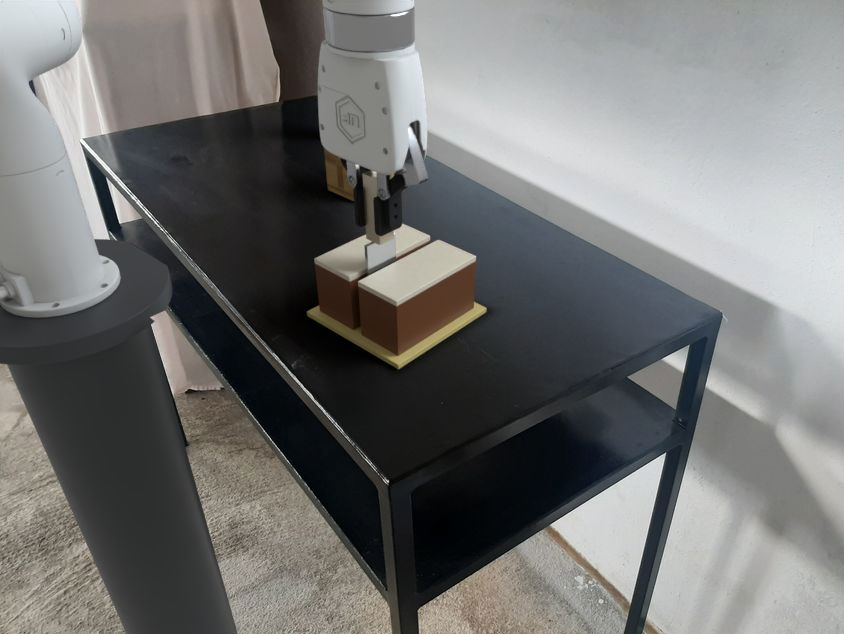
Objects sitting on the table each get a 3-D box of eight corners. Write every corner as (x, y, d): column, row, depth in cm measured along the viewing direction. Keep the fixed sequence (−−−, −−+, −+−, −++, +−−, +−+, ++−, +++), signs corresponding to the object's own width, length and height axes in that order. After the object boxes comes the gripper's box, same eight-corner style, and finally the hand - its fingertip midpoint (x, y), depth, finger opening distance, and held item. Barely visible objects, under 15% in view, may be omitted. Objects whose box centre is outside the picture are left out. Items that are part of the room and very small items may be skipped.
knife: (376, 324, 77) (368, 182, 67) (363, 317, 78) (354, 176, 68) (403, 309, 79) (399, 169, 70) (390, 302, 80) (384, 164, 71)
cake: (398, 369, 73) (396, 309, 68) (307, 316, 80) (300, 258, 75) (486, 312, 81) (489, 255, 77) (397, 268, 88) (395, 214, 84)
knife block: (356, 202, 103) (352, 147, 98) (327, 190, 106) (322, 136, 101) (396, 185, 107) (394, 132, 103) (367, 174, 111) (365, 122, 106)
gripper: (274, 19, 63) (297, 213, 74) (406, 57, 55) (410, 268, 66) (340, 6, 67) (352, 191, 79) (470, 39, 59) (464, 240, 70)
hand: (379, 225), depth 72 cm, fingers closed on knife, 2 cm apart
